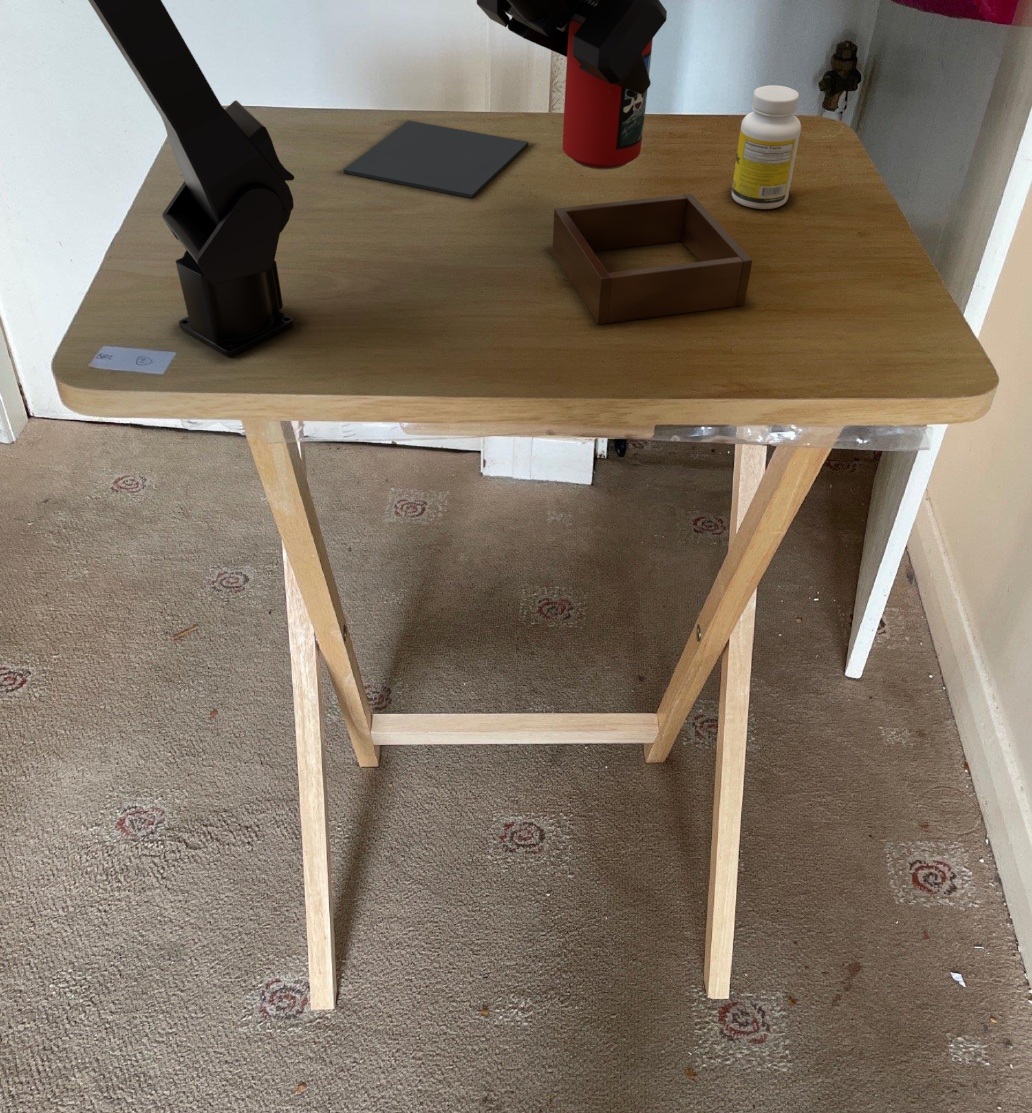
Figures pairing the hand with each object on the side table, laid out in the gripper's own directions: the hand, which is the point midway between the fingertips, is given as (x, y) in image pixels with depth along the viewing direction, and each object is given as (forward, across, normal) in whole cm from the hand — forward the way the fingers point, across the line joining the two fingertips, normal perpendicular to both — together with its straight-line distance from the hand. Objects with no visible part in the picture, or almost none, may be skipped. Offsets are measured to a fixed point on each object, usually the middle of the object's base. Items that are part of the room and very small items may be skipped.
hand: (620, 75), depth 85 cm
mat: (+5, +21, +14) cm, 26 cm away
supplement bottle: (+21, -2, -2) cm, 21 cm away
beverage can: (+4, 0, +6) cm, 7 cm away
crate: (+8, -9, +11) cm, 16 cm away
